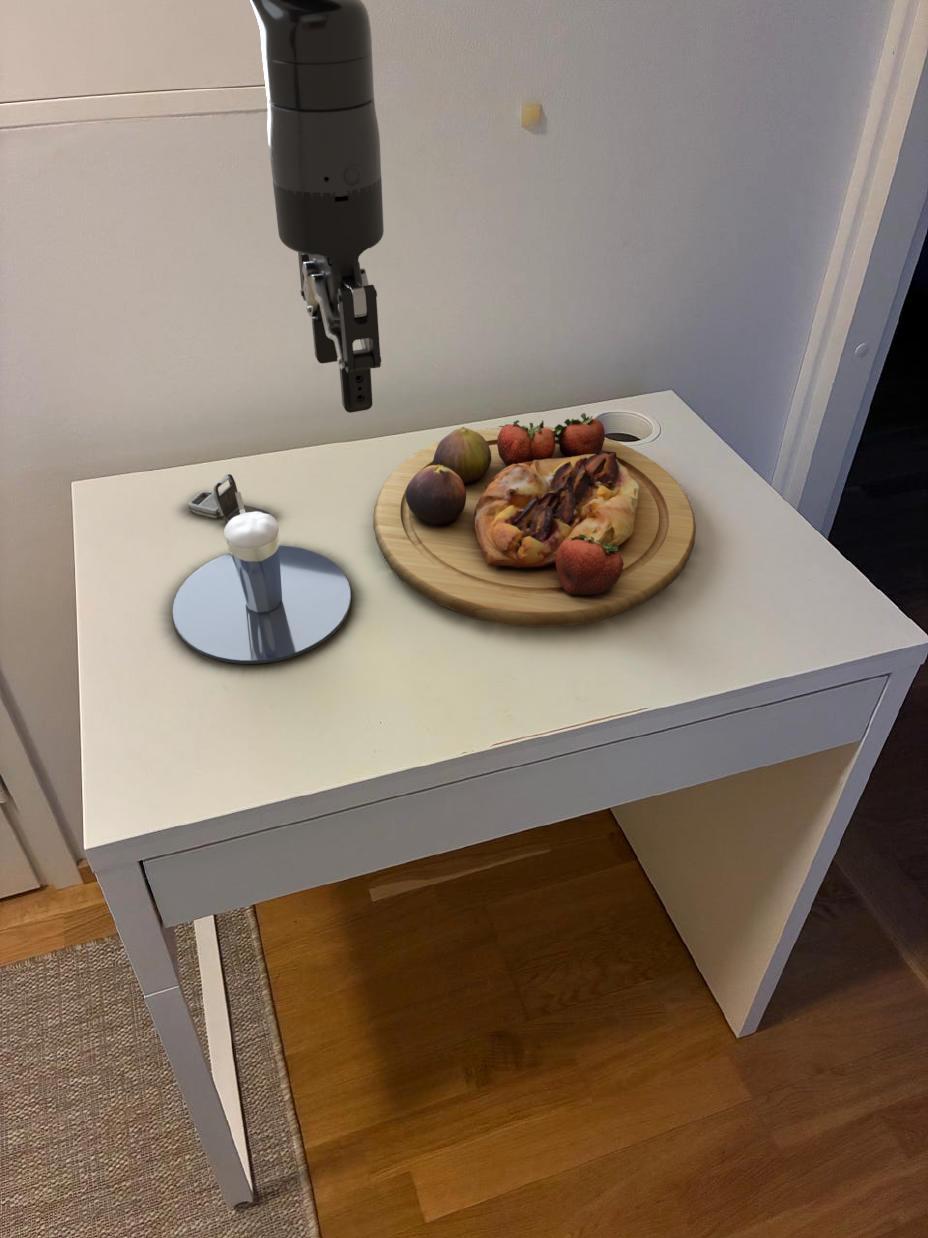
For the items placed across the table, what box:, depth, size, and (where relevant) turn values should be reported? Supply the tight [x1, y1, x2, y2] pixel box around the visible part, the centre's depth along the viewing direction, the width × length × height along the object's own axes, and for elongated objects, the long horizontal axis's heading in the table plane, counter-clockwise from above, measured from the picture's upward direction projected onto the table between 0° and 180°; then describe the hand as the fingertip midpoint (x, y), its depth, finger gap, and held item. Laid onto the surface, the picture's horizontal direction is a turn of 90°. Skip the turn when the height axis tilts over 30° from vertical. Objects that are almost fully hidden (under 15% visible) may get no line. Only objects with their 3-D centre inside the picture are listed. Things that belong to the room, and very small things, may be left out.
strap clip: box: [187, 473, 271, 523], centre depth 96 cm, size 8×3×4 cm, turn 65°
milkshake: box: [223, 491, 282, 613], centre depth 84 cm, size 4×5×10 cm
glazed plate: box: [171, 545, 352, 665], centre depth 87 cm, size 16×16×1 cm
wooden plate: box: [372, 412, 697, 627], centre depth 94 cm, size 32×32×8 cm
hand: (343, 383), depth 77 cm, fingers open, 8 cm apart
